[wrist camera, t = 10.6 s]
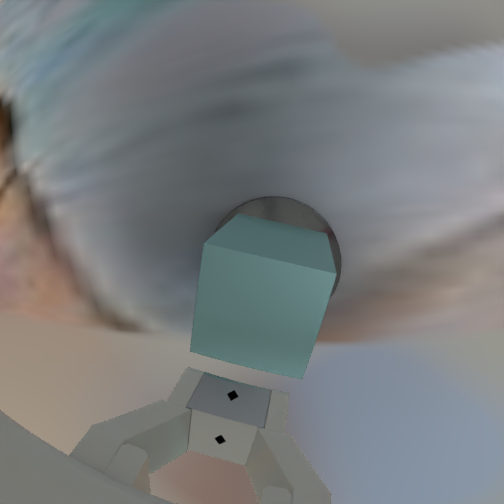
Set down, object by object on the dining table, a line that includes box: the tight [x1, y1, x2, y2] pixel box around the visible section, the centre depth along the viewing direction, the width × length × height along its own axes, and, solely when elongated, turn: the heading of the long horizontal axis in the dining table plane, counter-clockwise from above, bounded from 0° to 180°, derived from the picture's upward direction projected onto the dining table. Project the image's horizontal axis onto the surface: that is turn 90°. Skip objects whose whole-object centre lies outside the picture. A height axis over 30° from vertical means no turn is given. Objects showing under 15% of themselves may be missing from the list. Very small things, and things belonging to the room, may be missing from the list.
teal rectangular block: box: [190, 214, 337, 379], centre depth 16 cm, size 5×5×7 cm
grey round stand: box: [214, 197, 341, 299], centre depth 17 cm, size 8×8×6 cm
